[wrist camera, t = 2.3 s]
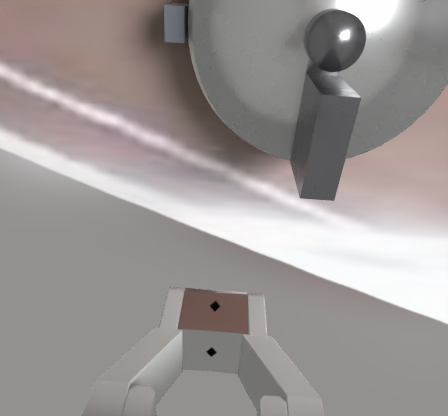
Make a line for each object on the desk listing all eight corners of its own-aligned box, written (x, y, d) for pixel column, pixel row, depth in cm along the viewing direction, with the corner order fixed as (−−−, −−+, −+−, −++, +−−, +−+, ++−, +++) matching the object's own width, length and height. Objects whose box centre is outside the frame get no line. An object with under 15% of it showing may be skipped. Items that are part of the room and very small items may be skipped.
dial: (198, -155, 18) (179, -214, 12) (519, -132, 18) (642, -180, 12) (193, 145, 26) (180, 189, 21) (409, 161, 26) (453, 209, 21)
